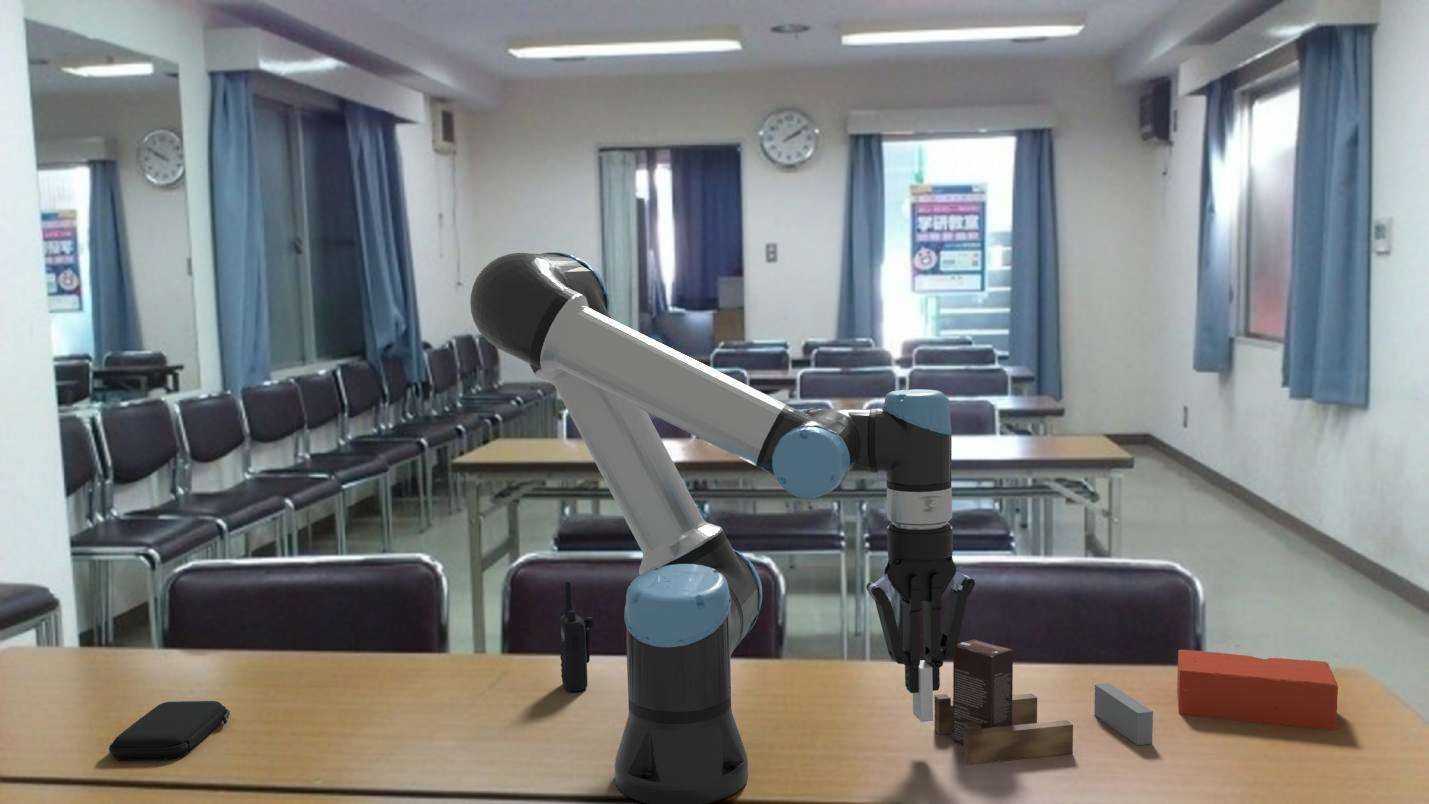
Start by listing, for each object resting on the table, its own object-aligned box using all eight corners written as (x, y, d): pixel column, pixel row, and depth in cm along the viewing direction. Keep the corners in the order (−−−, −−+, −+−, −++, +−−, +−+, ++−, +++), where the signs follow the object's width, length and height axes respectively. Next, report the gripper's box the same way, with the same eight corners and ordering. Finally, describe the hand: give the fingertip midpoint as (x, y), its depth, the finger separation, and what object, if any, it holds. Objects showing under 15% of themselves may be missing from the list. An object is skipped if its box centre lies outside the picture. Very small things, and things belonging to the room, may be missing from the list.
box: (1014, 745, 141) (1015, 648, 140) (990, 756, 139) (991, 656, 137) (973, 731, 146) (974, 637, 145) (950, 741, 143) (950, 644, 142)
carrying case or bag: (191, 764, 142) (241, 718, 156) (189, 740, 141) (239, 696, 156) (103, 766, 142) (161, 719, 156) (101, 741, 141) (159, 697, 156)
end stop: (1137, 745, 141) (1137, 713, 140) (1094, 714, 150) (1094, 684, 150) (1152, 743, 141) (1152, 711, 141) (1108, 713, 151) (1109, 683, 150)
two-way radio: (559, 682, 167) (555, 578, 165) (590, 678, 168) (587, 575, 166) (566, 695, 161) (562, 588, 160) (598, 691, 163) (594, 585, 161)
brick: (1178, 716, 150) (1179, 670, 150) (1176, 692, 159) (1178, 648, 158) (1336, 732, 144) (1338, 684, 144) (1326, 706, 153) (1327, 661, 152)
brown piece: (969, 764, 136) (969, 726, 136) (934, 729, 147) (934, 694, 146) (1072, 753, 139) (1073, 716, 138) (1031, 720, 149) (1031, 685, 149)
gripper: (876, 533, 133) (881, 735, 135) (985, 524, 135) (987, 722, 138) (856, 520, 140) (860, 711, 143) (959, 512, 143) (961, 700, 145)
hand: (923, 717), depth 140 cm, fingers closed
